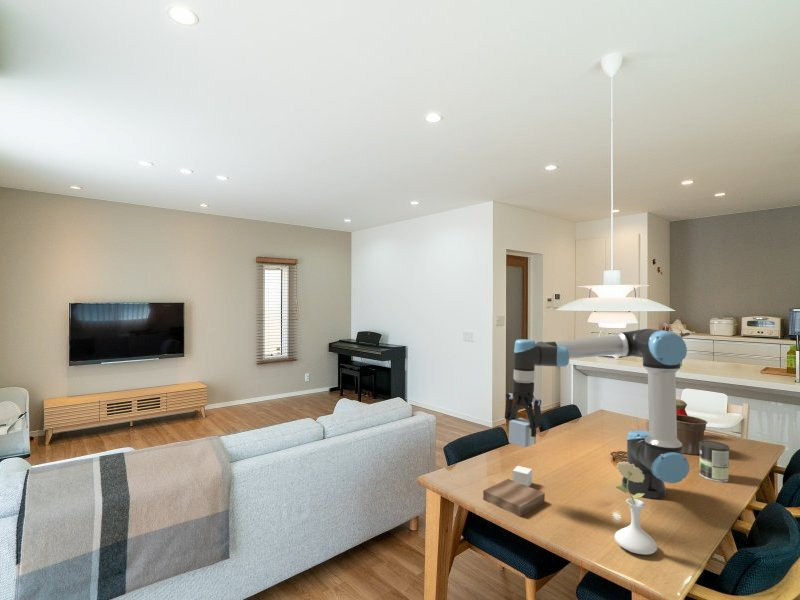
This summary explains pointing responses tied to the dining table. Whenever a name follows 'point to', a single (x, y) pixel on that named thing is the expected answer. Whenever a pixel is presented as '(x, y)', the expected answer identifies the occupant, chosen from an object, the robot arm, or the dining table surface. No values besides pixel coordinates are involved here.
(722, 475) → the coffee can
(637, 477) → the flower in vase
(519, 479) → the white cube
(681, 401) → the bottle
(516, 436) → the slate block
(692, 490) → the dining table surface
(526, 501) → the walnut block
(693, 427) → the plant pot
